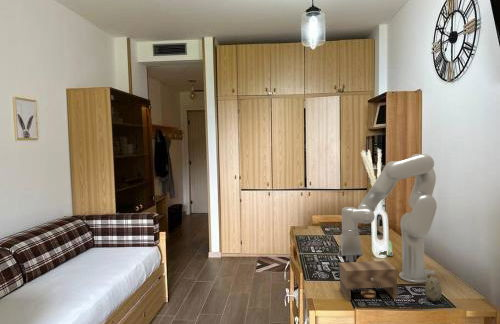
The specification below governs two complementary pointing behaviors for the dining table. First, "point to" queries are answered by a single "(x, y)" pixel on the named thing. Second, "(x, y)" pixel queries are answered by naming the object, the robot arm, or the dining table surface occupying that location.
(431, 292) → the decorative egg
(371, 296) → the copper token
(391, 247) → the frog
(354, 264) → the wooden bridge block
